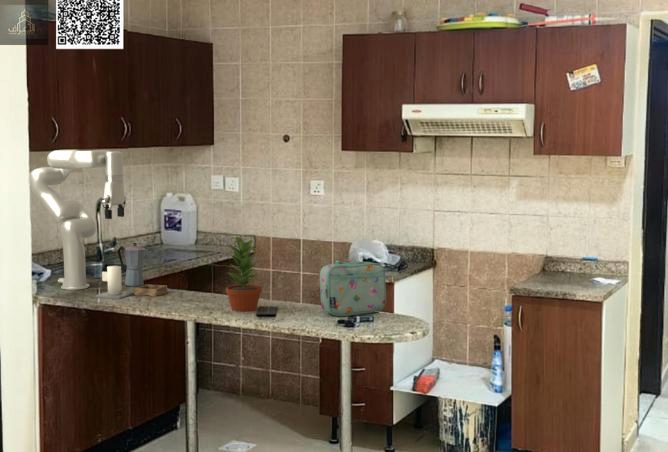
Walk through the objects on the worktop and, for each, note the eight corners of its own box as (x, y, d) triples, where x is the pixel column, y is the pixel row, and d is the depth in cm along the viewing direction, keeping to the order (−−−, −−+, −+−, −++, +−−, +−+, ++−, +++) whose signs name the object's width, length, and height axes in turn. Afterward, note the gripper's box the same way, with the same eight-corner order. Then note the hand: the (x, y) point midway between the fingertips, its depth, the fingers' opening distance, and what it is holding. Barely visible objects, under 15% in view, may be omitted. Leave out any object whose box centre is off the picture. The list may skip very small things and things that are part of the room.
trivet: (95, 297, 433) (95, 295, 433) (110, 292, 444) (110, 290, 444) (119, 298, 429) (119, 297, 429) (133, 294, 440) (133, 292, 440)
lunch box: (326, 318, 385) (326, 264, 383) (316, 314, 395) (316, 260, 392) (388, 313, 396) (388, 259, 393) (376, 308, 405) (376, 256, 403)
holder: (134, 295, 437) (134, 288, 437) (146, 291, 447) (146, 284, 447) (155, 296, 434) (155, 289, 434) (167, 292, 444) (167, 285, 443)
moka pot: (144, 287, 456) (143, 244, 454) (113, 286, 460) (112, 243, 457) (152, 284, 466) (151, 241, 464) (121, 283, 469) (120, 241, 467)
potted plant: (249, 314, 395) (247, 239, 391) (219, 310, 403) (217, 236, 399) (270, 307, 407) (270, 235, 404) (241, 304, 415) (240, 233, 412)
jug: (99, 294, 435) (98, 267, 434) (107, 292, 441) (106, 265, 440) (117, 295, 433) (116, 267, 431) (124, 292, 438) (123, 266, 437)
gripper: (117, 177, 449) (118, 215, 451) (95, 180, 432) (96, 219, 435) (132, 178, 446) (132, 216, 448) (110, 181, 430) (111, 220, 432)
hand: (114, 217), depth 441 cm, fingers open, 9 cm apart
